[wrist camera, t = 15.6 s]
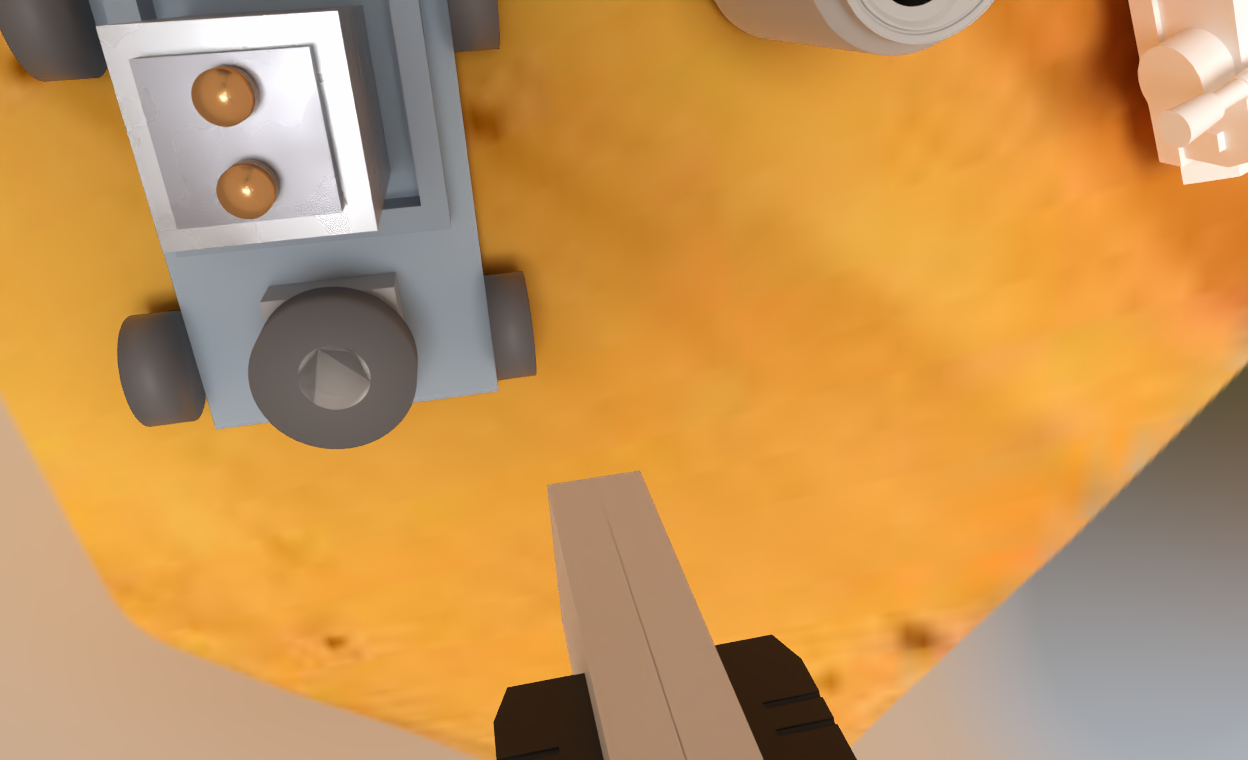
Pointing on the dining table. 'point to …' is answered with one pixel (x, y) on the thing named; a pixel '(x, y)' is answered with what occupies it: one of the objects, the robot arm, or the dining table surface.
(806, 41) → the beverage can
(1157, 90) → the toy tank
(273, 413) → the spare wheel
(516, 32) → the dining table surface
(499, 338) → the chassis
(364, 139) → the twin lamp box
